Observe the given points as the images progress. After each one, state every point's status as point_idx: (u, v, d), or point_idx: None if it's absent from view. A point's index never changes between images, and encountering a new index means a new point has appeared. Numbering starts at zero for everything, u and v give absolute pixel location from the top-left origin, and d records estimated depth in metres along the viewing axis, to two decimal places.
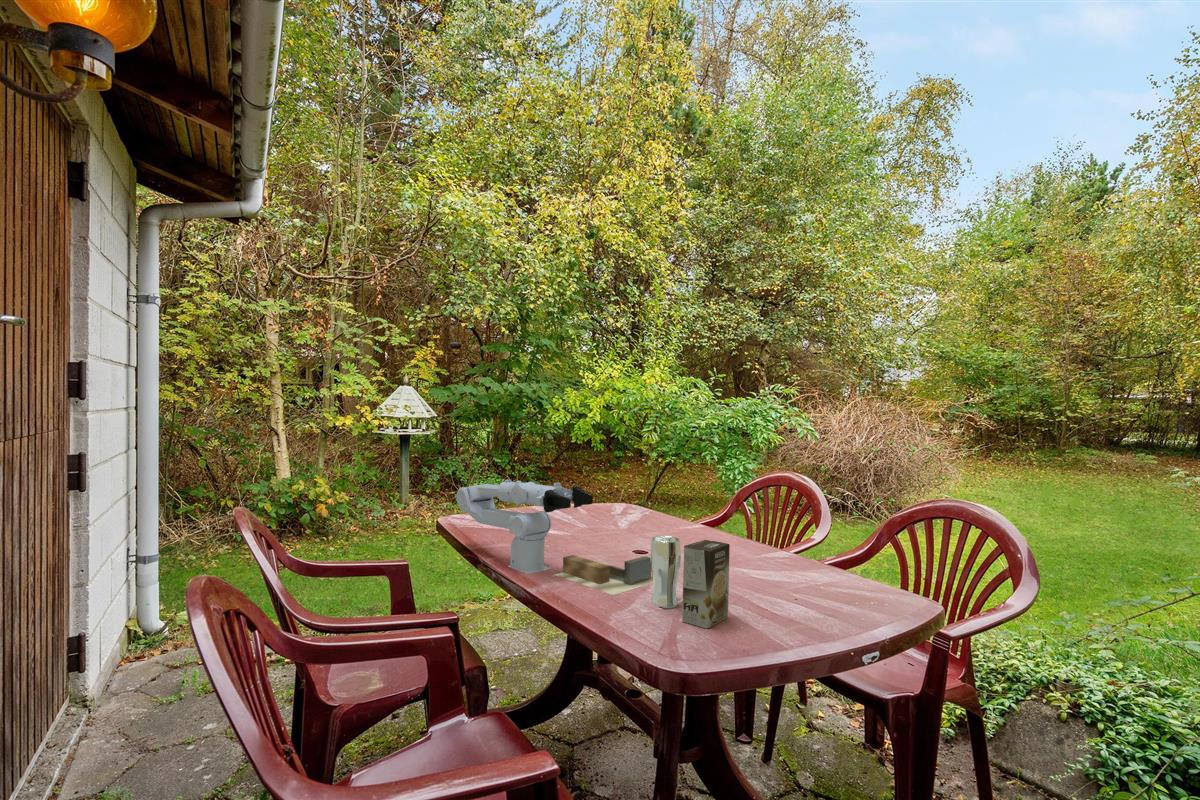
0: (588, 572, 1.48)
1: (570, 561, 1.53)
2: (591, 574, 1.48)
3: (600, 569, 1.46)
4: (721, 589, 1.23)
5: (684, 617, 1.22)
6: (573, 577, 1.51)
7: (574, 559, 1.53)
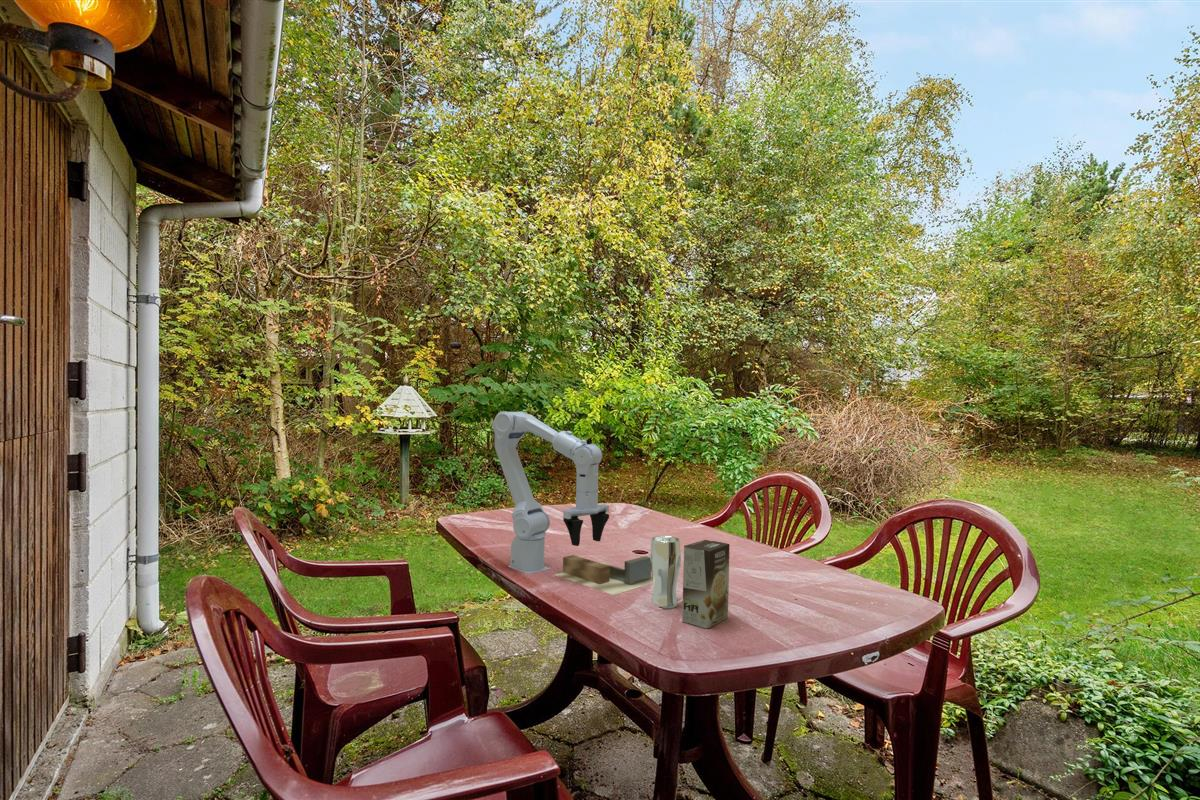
0: (588, 572, 1.48)
1: (570, 561, 1.53)
2: (591, 574, 1.48)
3: (600, 569, 1.46)
4: (721, 589, 1.23)
5: (684, 617, 1.22)
6: (573, 577, 1.51)
7: (574, 559, 1.53)
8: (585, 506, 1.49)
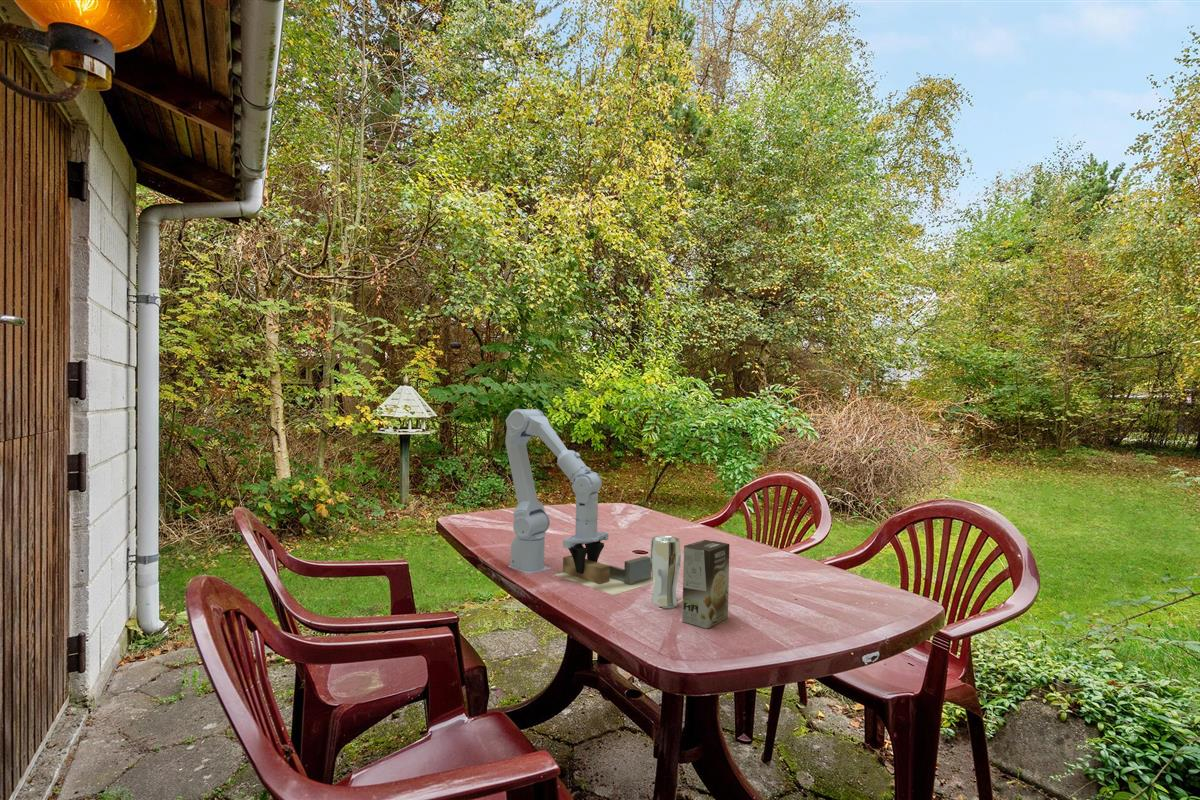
0: (588, 572, 1.48)
1: (570, 561, 1.53)
2: (591, 574, 1.48)
3: (600, 569, 1.46)
4: (721, 589, 1.23)
5: (684, 617, 1.22)
6: (573, 577, 1.51)
7: None
8: (585, 535, 1.49)
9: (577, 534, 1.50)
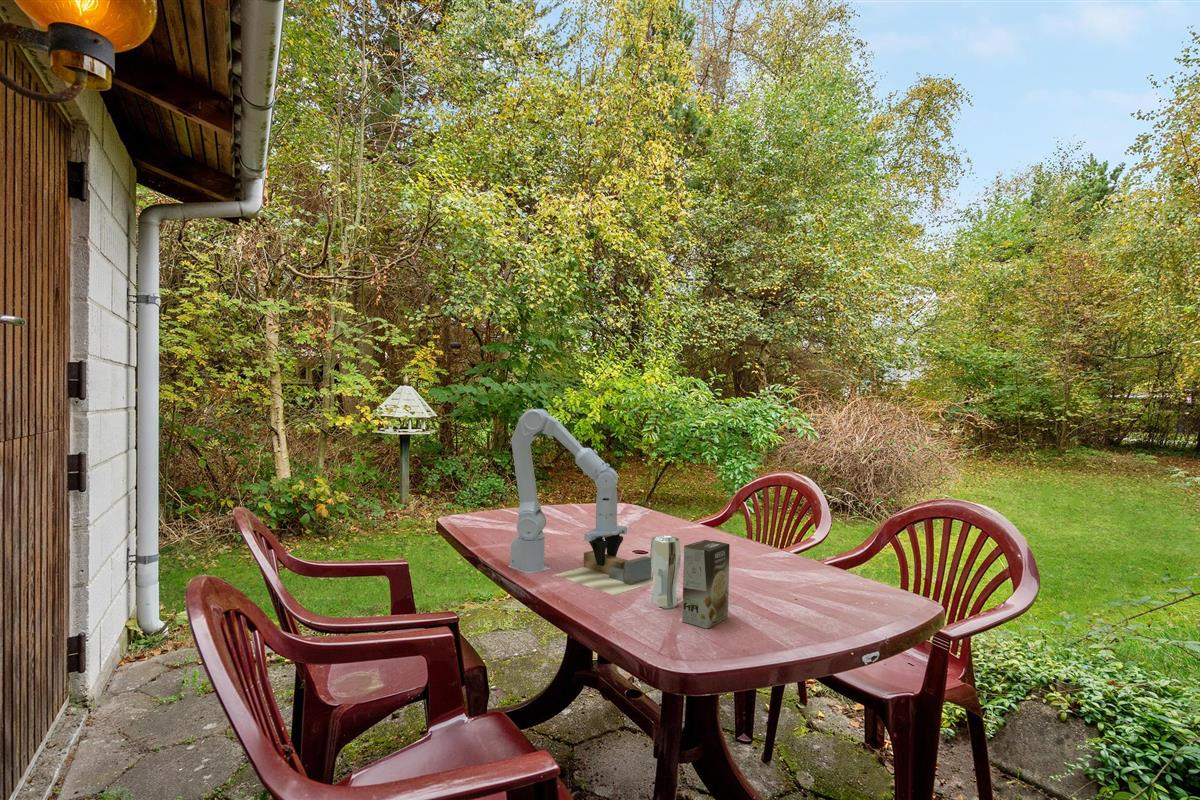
0: None
1: (591, 556, 1.59)
2: None
3: (621, 563, 1.51)
4: (721, 589, 1.23)
5: (684, 617, 1.22)
6: (573, 577, 1.51)
7: None
8: (605, 529, 1.54)
9: (597, 528, 1.56)
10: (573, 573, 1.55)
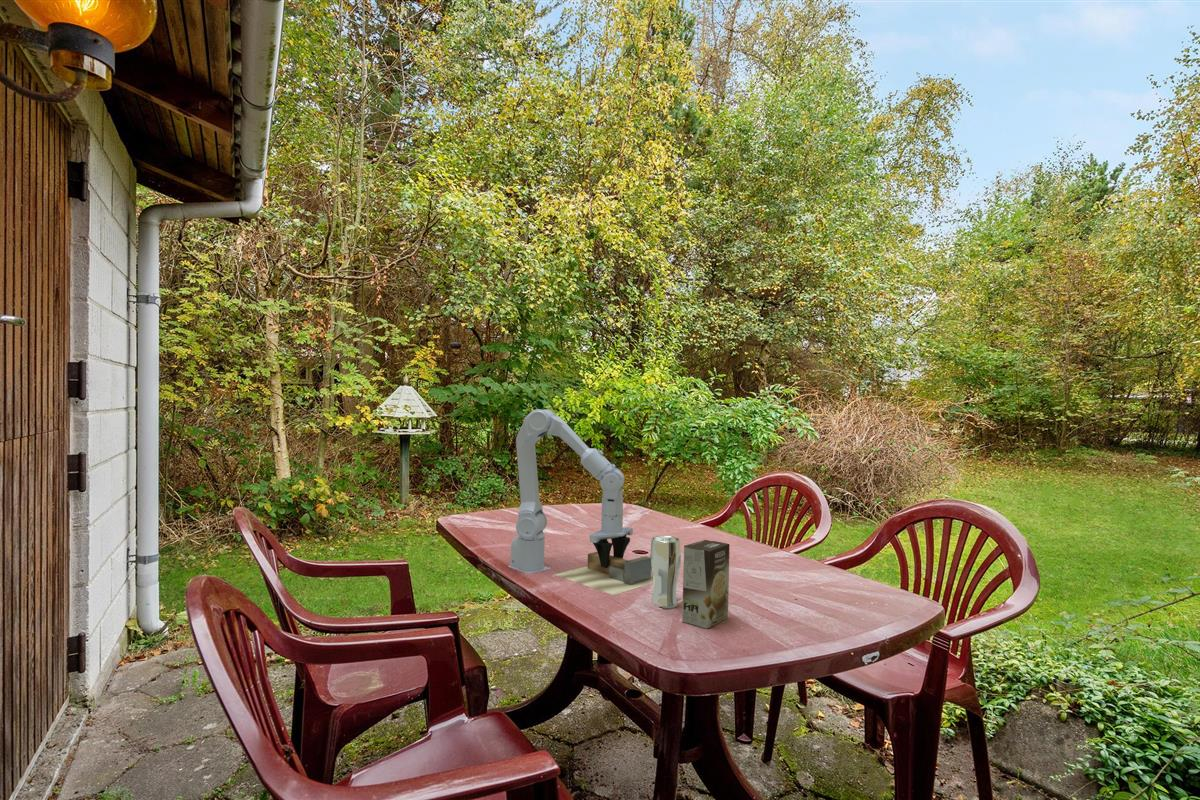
0: None
1: (595, 557, 1.57)
2: None
3: None
4: (721, 589, 1.23)
5: (684, 617, 1.22)
6: (573, 577, 1.51)
7: None
8: (611, 530, 1.53)
9: (603, 529, 1.54)
10: (573, 573, 1.55)
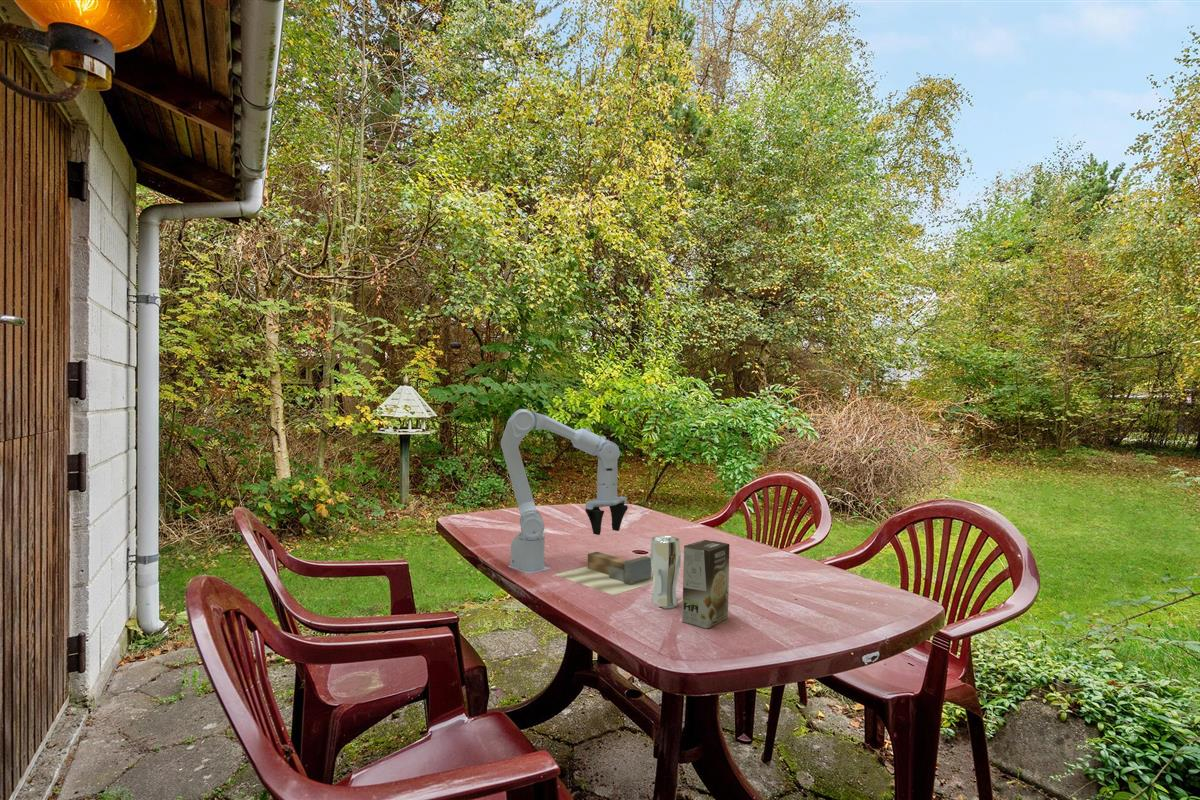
0: None
1: (595, 557, 1.57)
2: None
3: None
4: (721, 589, 1.23)
5: (684, 617, 1.22)
6: (573, 577, 1.51)
7: (599, 555, 1.58)
8: (606, 498, 1.60)
9: (598, 497, 1.61)
10: (573, 573, 1.55)
